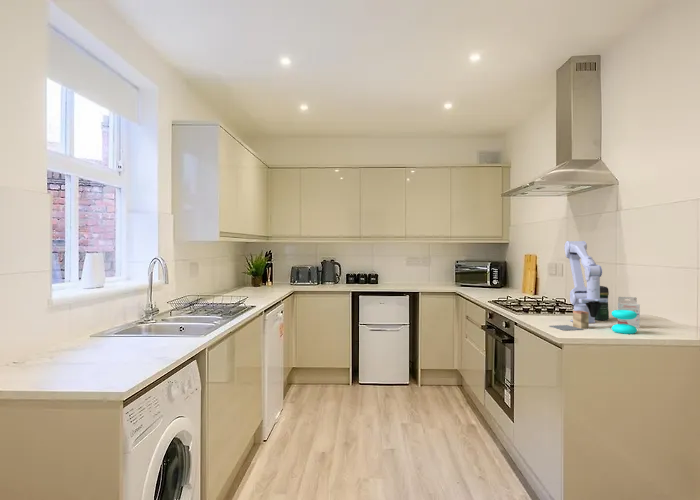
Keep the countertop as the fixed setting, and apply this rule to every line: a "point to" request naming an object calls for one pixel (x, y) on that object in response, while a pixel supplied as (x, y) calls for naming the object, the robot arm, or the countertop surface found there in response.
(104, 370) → the countertop surface
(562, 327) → the rubber mat
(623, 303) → the ink cartridge box
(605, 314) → the coffee jar
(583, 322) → the oak block
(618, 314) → the donuts
